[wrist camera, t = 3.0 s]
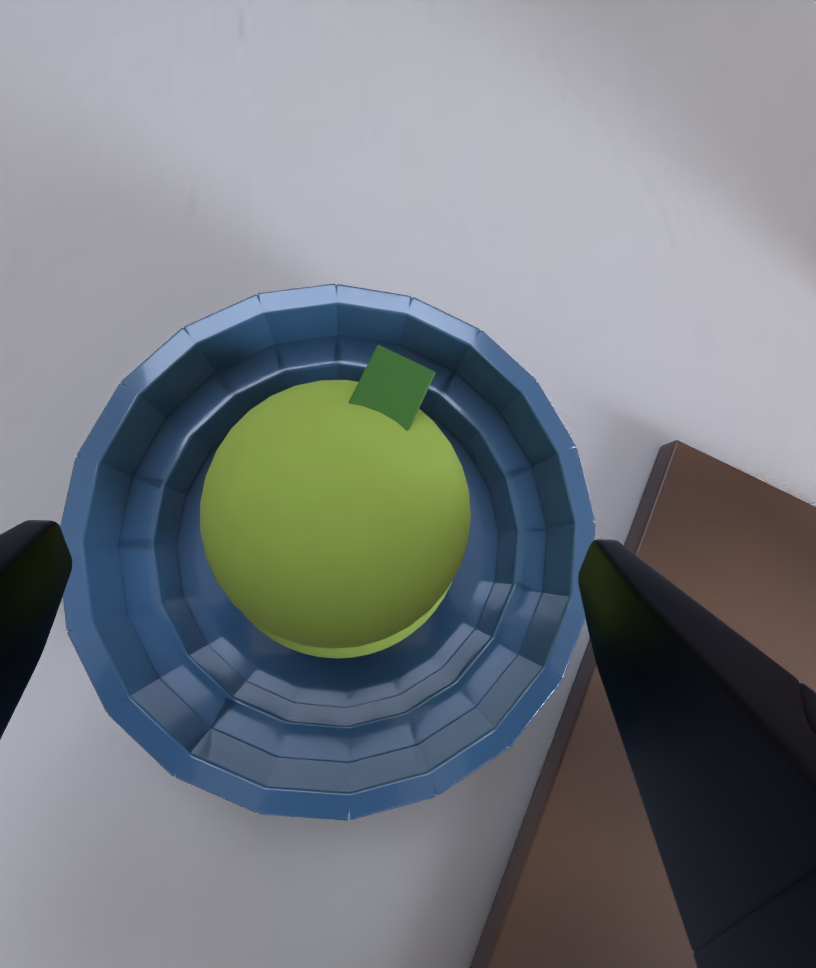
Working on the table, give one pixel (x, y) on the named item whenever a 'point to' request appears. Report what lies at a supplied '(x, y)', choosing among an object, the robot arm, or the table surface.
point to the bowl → (266, 663)
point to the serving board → (597, 743)
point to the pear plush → (338, 511)
